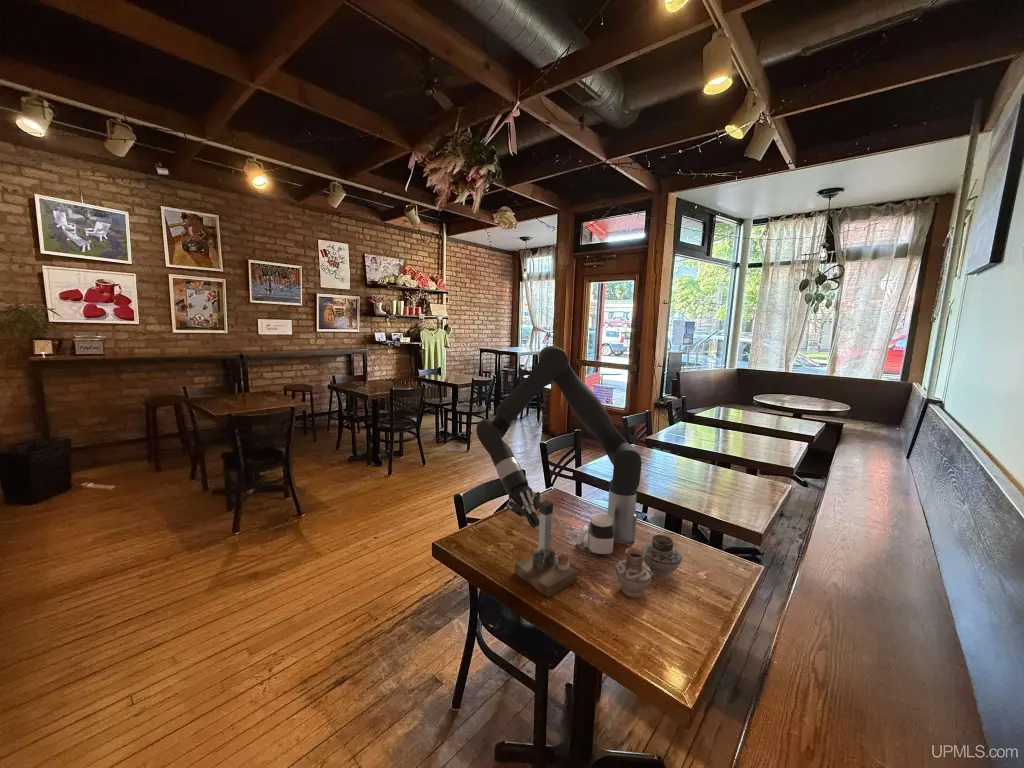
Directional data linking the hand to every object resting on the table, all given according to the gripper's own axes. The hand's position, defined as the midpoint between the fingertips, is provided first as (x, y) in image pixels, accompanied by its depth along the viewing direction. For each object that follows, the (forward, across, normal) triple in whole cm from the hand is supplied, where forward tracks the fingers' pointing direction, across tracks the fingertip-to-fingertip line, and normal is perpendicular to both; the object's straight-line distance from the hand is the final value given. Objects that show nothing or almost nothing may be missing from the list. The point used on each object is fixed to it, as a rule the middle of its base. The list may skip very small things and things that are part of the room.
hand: (536, 526), depth 122 cm
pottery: (+27, +22, -7) cm, 36 cm away
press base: (+12, 0, +7) cm, 14 cm away
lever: (+8, 0, +3) cm, 9 cm away
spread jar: (+13, +23, +7) cm, 27 cm away
